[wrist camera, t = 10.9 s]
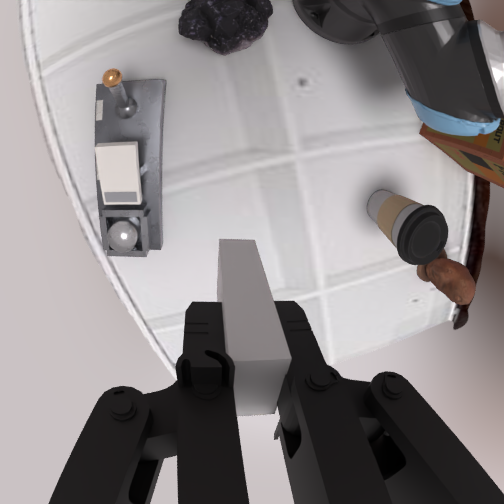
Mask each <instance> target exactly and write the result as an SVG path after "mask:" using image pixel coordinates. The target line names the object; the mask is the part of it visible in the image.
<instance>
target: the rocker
mask: <svg viewBox="0 0 504 504" xmlns="http://www.w3.org/2000/svg"><path fill="white" fill-rule="evenodd" d="M95 153H96V160H97V167H98V173H99V179H100V185H101V190H102V196H103V201H104V205H114V204H141V202H142V192H141V182H140V171H139V158H138V142H137V141H134V142H112V143H98V144H97V145H96V146H95Z"/></svg>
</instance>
